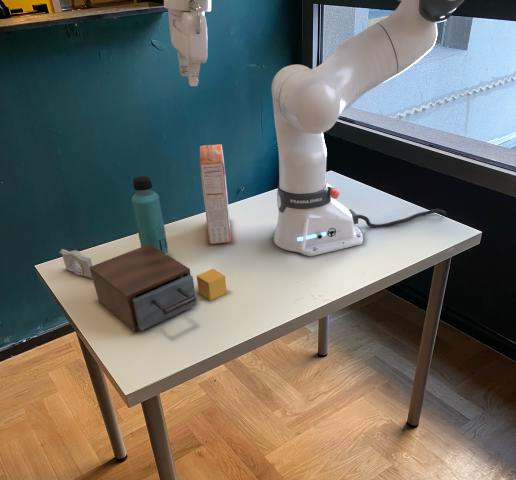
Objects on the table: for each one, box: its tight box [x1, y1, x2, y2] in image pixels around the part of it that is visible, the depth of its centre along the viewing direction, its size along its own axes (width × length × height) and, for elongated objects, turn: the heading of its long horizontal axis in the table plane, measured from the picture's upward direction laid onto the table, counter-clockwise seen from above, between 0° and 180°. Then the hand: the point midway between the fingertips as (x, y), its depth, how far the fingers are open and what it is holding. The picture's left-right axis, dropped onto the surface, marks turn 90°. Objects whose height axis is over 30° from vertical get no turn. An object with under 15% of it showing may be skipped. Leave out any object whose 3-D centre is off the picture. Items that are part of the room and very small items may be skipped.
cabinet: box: [89, 244, 192, 333], centre depth 108 cm, size 16×15×9 cm
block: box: [196, 268, 227, 301], centre depth 111 cm, size 4×4×4 cm
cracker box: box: [199, 143, 232, 245], centre depth 130 cm, size 14×6×21 cm, turn 5°
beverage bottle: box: [131, 175, 169, 255], centre depth 120 cm, size 6×7×20 cm
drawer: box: [131, 274, 198, 332], centre depth 105 cm, size 20×13×7 cm
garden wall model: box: [59, 249, 93, 279], centre depth 119 cm, size 12×2×6 cm, turn 58°
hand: (188, 80), depth 104 cm, fingers open, 8 cm apart
